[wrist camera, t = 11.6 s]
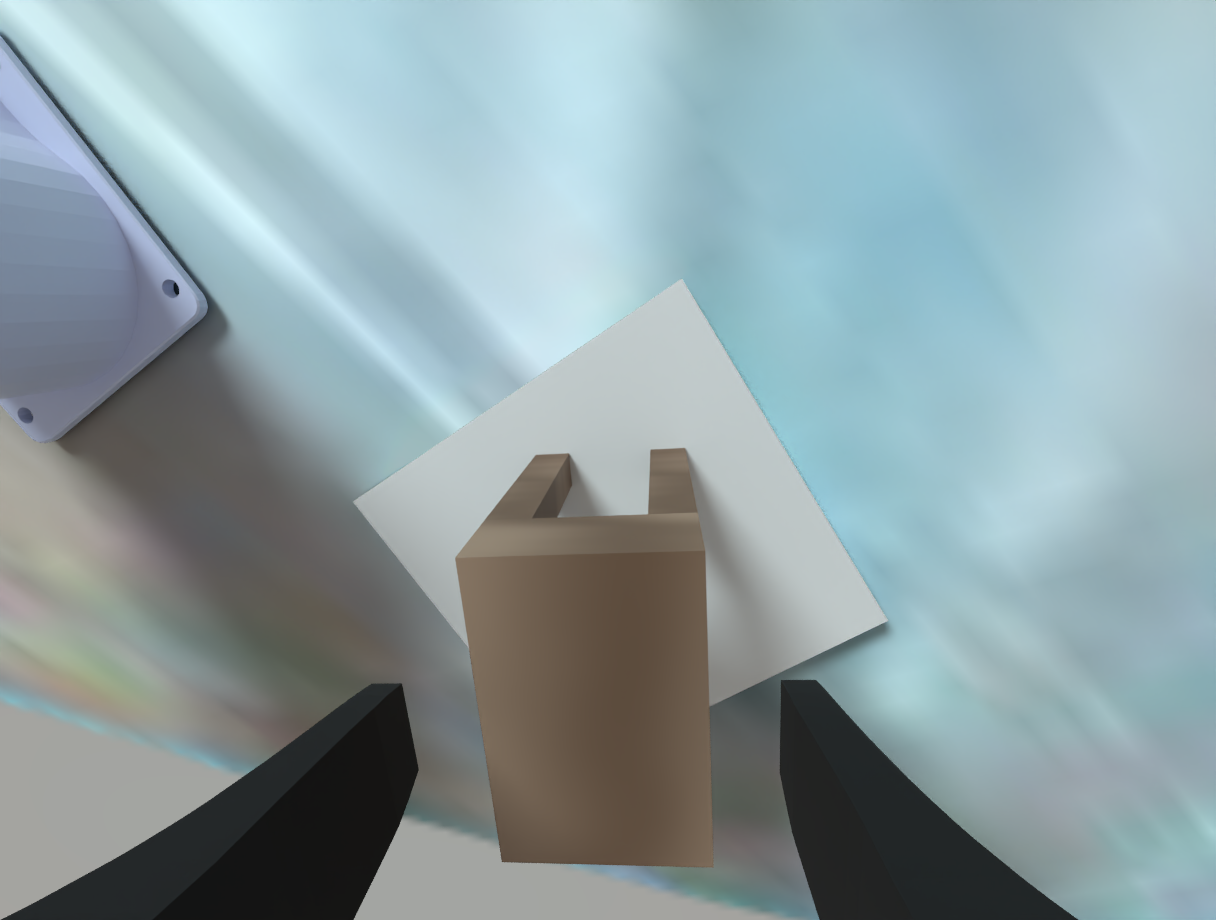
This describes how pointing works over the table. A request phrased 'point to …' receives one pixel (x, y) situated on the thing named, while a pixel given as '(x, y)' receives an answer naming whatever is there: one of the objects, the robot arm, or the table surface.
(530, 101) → the table surface
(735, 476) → the mat
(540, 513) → the brown forked block
